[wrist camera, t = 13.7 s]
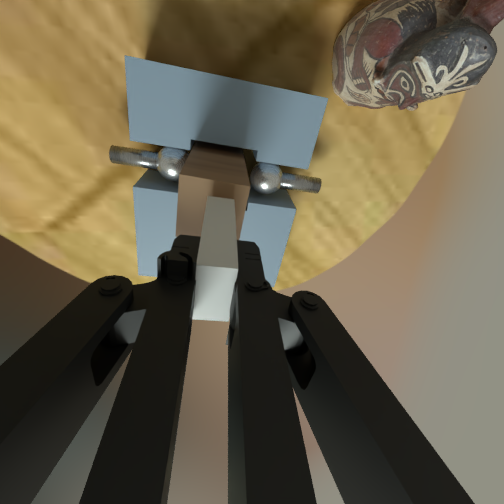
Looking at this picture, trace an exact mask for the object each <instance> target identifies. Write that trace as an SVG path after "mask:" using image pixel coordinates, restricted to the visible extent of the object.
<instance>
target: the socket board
mask: <svg viewBox="0 0 504 504" xmlns="http://www.w3.org/2000/svg"><path fill="white" fill-rule="evenodd" d="M125 69H126V85H127V101H128V116H129V132H130V141H137V142H143V143H149V144H155V145H161V146H167V147H173V148H179V149H186V150H190V149H191V148H192V146H193V144H194V142H195V140H198V141H203V142H209V143H215V144H221V145H227V146H233V147H239V148H245V149H251V150H252V151H253V154H254V157H255V160H256V161H259V162H265V163H271V164H277V165H284V166H290V167H296V168H302V169H308V167H309V164H310V160H311V157H312V153H313V150H314V146H315V143H316V139H317V136H318V132H319V129H320V125H321V122H322V119H323V115H324V112H325V108H326V105H327V101H328V98H324V97H320V96H315V95H310V94H305V93H301V92H296V91H291V90H287V89H282V88H277V87H272V86H268V85H263V84H258V83H253V82H249V81H244V80H239V79H234V78H230V77H225V76H220V75H215V74H211V73H206V72H201V71H197V70H192V69H187V68H182V67H178V66H173V65H168V64H163V63H159V62H154V61H149V60H144V59H140V58H135V57H130V56H125ZM178 186H179V181H178V182H173V181H169V180H167V179H165V178H164V177H163V176H162V175H161V174H160V173H159V171H156V170H149V169H148V170H147V171H146V172H145V174H144V175H143V176H142V177H141V178H140V179H139V180H138V182H137V183H136V184H135V185H134V186H133V195H134V211H135V227H136V242H137V258H138V274H139V275H142V276H154V277H157V258H158V257H159V255H160V254H162V253H164V252H166V251H170V250H171V247H172V244H173V241H174V239H175V238H176V237H175V235H176V218H177V202H178ZM295 213H296V207H295V205H294V204H293V202H292V200H291V198H290V196H289V194H288V192H287V190H284V189H278V190H277V191H276V192H274V193H272V194H269V195H264V194H260V193H258V192H257V191H255V190H254V188H253V187H252V185H251V184H250V191H249V196H248V200H247V205H246V210H245V215H244V220H243V224H242V229H241V234H240V239H239V240H242V241H251V242H255V243H256V245H257V246H258V247H259V249H260V254H261V255H260V256H261V259H262V260H261V261H262V265H263V270H264V275H265V279H266V280H267V281H268V282H269V283H270V285H271V287H274V286H275V282H276V279H277V275H278V272H279V268H280V265H281V261H282V258H283V254H284V251H285V247H286V244H287V240H288V237H289V233H290V230H291V226H292V223H293V220H294V216H295Z"/></svg>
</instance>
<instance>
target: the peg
mask: <svg viewBox="0 0 504 504" xmlns="http://www.w3.org/2000/svg"><path fill="white" fill-rule="evenodd" d="M249 191H250V182H249V178H248V173H247V168H246V163H245V159H244V154H243V149H242V148H239V147H233V146H227V145H221V144H215V143H209V142H203V141H198V140H196V142H195V144H194V146H193V148H192V150H191V152H190V154H189V156H188V158H187V160H186V162H185V164H184V166H183V168H182V170H181V172H180V174H179V186H178V202H177V218H176V235H175V237H178V236H179V235H180V234H182V235H191V236H200V237H201V233H202V227H203V221H204V215H205V209H206V203H207V197H208V196H213V197H220V198H227V199H234V202H235V219H236V236H237V240H239V239H240V234H241V229H242V224H243V220H244V215H245V210H246V205H247V200H248V196H249Z"/></svg>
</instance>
